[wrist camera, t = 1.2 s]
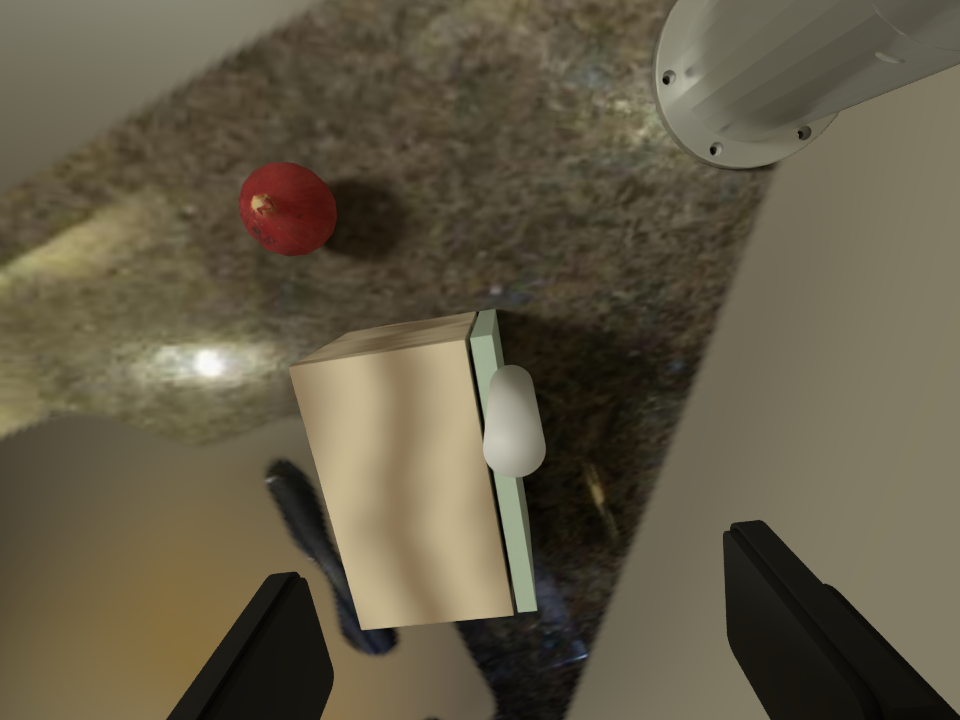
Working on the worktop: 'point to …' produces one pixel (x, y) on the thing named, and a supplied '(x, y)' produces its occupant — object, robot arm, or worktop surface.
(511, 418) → the cupboard door
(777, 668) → the robot arm
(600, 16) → the worktop surface
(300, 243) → the onion
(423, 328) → the cupboard
